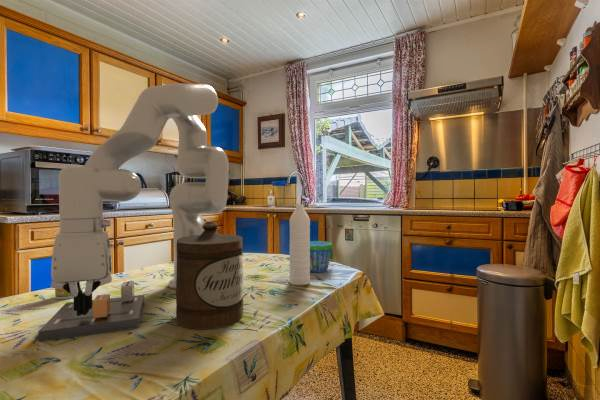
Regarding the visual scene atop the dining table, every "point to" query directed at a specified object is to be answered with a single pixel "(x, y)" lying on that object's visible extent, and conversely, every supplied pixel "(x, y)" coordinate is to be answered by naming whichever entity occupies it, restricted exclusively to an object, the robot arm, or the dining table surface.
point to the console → (93, 320)
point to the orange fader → (101, 305)
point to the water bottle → (300, 246)
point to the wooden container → (209, 279)
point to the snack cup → (320, 256)
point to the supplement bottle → (62, 294)
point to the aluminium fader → (127, 291)
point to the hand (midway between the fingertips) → (83, 312)
